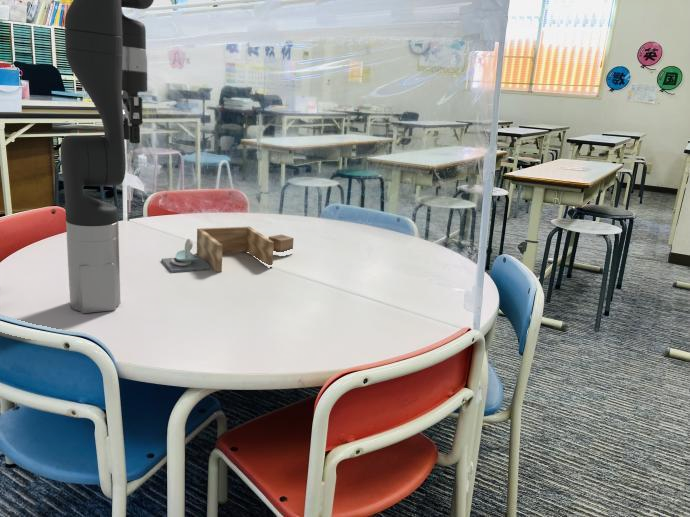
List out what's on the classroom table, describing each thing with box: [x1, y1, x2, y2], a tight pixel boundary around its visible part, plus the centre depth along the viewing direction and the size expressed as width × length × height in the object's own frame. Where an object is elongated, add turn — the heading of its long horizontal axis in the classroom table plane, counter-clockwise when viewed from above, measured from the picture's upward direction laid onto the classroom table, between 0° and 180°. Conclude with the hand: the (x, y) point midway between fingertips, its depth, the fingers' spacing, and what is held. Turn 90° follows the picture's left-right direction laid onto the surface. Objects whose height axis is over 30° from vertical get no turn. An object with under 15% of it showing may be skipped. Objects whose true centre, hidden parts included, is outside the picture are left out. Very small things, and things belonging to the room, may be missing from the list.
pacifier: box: [171, 238, 198, 266], centre depth 138 cm, size 7×6×6 cm
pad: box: [161, 255, 213, 274], centre depth 139 cm, size 10×10×1 cm
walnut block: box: [268, 234, 294, 252], centre depth 157 cm, size 5×5×5 cm
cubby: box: [196, 226, 274, 273], centre depth 146 cm, size 17×15×7 cm
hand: (130, 141), depth 129 cm, fingers open, 8 cm apart
